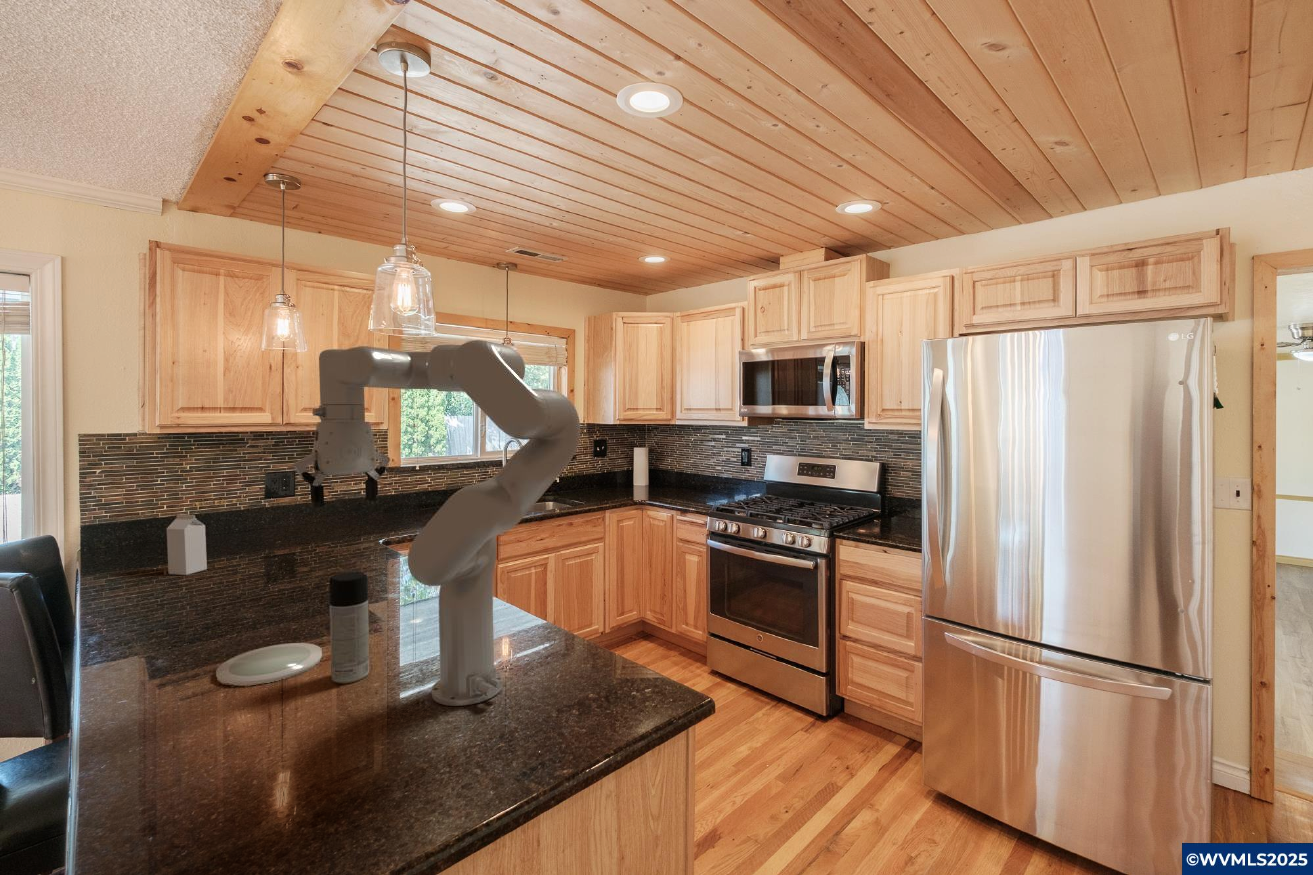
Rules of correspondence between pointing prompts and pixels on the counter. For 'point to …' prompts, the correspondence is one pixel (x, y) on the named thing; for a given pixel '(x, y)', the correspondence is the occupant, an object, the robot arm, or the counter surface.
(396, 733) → the counter surface
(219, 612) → the counter surface
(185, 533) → the milk carton
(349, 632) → the spray can
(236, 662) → the dish
